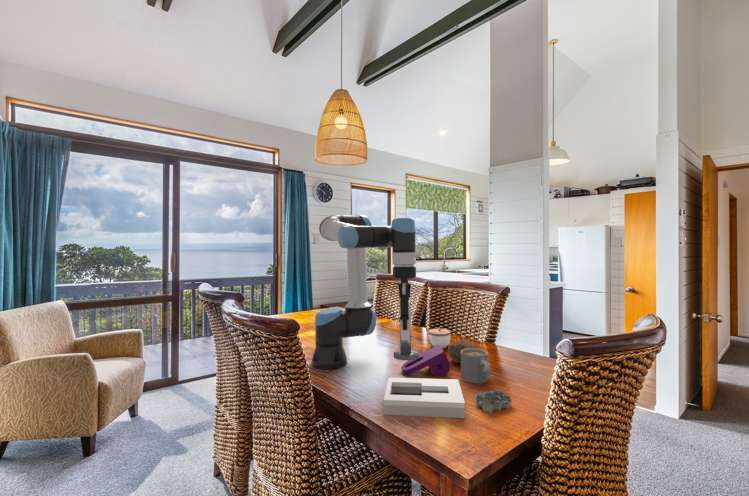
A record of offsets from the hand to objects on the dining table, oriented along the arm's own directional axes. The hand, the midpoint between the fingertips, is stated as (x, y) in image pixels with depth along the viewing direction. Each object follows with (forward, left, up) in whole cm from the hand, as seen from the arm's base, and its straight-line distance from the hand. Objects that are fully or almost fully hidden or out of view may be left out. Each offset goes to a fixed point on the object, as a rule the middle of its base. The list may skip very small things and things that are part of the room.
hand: (405, 337), depth 115 cm
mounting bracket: (+6, +28, -22) cm, 36 cm away
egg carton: (+27, 0, -22) cm, 35 cm away
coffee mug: (+25, +21, -21) cm, 39 cm away
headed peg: (0, 0, -6) cm, 6 cm away
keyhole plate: (+5, 0, -21) cm, 22 cm away
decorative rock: (+22, +41, -21) cm, 52 cm away
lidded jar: (+14, +63, -21) cm, 68 cm away
